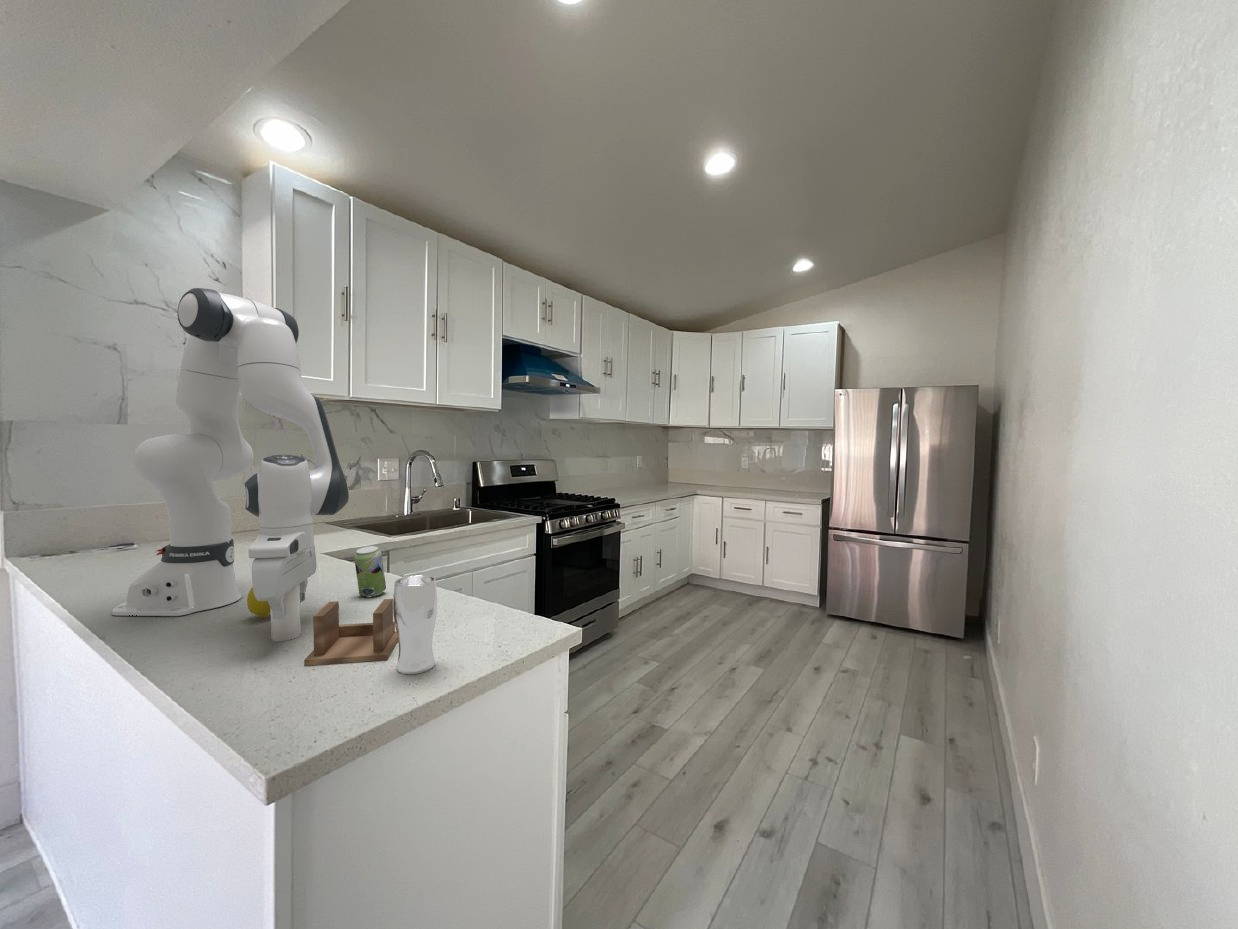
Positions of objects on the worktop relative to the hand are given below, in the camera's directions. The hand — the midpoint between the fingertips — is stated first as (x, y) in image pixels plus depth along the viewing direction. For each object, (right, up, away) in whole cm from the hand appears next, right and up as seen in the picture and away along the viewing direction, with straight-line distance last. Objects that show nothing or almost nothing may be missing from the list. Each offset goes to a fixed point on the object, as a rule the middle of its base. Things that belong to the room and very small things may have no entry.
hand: (289, 609), depth 100 cm
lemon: (-12, -5, +10) cm, 16 cm away
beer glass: (+29, -7, -12) cm, 32 cm away
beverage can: (+3, -4, +26) cm, 27 cm away
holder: (+16, -6, -6) cm, 18 cm away
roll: (-1, -5, 0) cm, 5 cm away
